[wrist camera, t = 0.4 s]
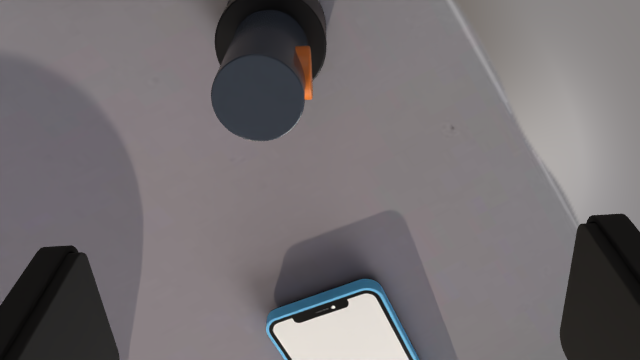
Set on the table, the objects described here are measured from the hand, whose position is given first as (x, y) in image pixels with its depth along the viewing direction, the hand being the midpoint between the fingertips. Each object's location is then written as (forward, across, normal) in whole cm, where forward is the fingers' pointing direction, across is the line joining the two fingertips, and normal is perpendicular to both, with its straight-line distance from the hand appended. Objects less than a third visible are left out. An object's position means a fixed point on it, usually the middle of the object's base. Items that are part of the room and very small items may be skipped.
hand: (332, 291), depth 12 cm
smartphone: (+19, -1, +23) cm, 30 cm away
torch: (+19, +2, 0) cm, 19 cm away
